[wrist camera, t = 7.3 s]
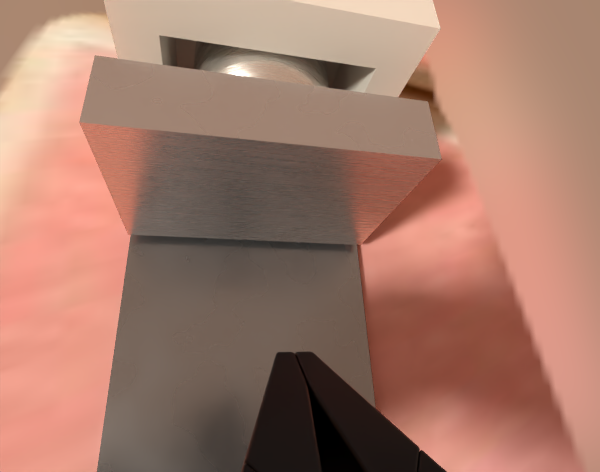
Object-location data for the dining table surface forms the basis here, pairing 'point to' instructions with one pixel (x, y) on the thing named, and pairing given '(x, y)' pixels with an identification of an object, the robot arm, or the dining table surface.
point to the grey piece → (252, 148)
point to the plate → (221, 344)
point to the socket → (285, 34)
